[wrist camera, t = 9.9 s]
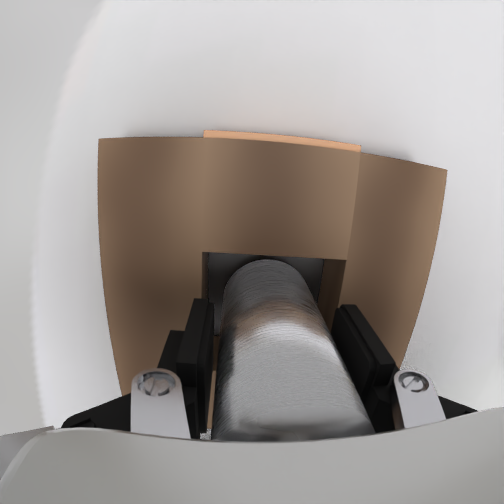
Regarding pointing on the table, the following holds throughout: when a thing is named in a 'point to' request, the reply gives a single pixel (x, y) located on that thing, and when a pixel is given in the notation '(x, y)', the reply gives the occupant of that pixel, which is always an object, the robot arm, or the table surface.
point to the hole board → (258, 230)
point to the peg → (280, 364)
